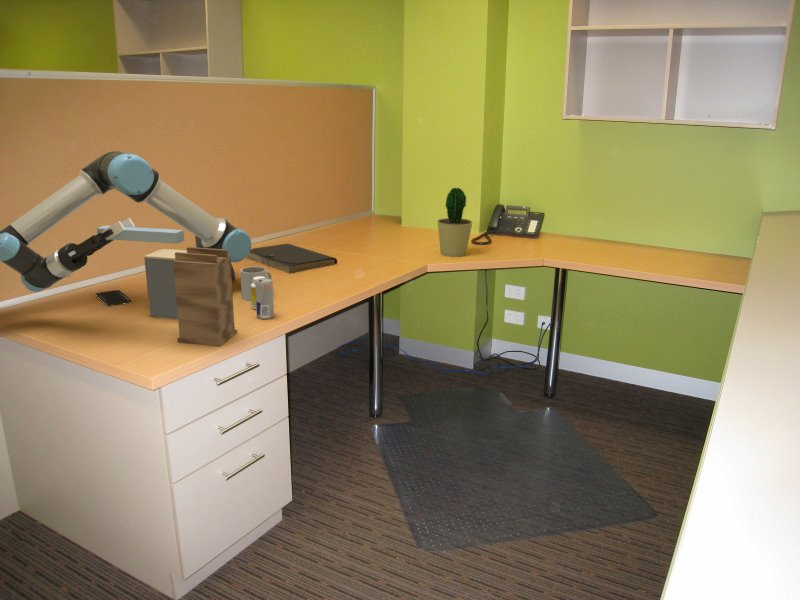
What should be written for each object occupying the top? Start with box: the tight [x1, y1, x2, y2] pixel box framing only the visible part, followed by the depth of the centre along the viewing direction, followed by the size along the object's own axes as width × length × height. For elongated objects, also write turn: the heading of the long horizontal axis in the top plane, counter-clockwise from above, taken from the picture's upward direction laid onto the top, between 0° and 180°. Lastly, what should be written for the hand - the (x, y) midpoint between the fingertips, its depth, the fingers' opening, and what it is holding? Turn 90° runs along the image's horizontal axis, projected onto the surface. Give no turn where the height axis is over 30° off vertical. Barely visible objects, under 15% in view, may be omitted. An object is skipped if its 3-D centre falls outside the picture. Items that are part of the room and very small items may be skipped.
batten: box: [96, 225, 185, 245], centre depth 182 cm, size 4×24×3 cm, turn 79°
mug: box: [240, 266, 273, 303], centre depth 224 cm, size 12×9×10 cm
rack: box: [173, 246, 238, 347], centre depth 184 cm, size 11×13×26 cm
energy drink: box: [255, 277, 275, 320], centre depth 204 cm, size 5×5×12 cm
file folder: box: [245, 243, 338, 274], centre depth 273 cm, size 33×4×24 cm
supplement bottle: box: [251, 276, 265, 311], centre depth 213 cm, size 6×6×10 cm
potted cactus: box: [437, 187, 473, 258], centre depth 286 cm, size 15×15×30 cm
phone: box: [95, 289, 132, 307], centre depth 220 cm, size 8×1×15 cm
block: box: [143, 248, 187, 320], centre depth 204 cm, size 10×12×20 cm
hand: (126, 223), depth 182 cm, fingers closed on batten, 4 cm apart
